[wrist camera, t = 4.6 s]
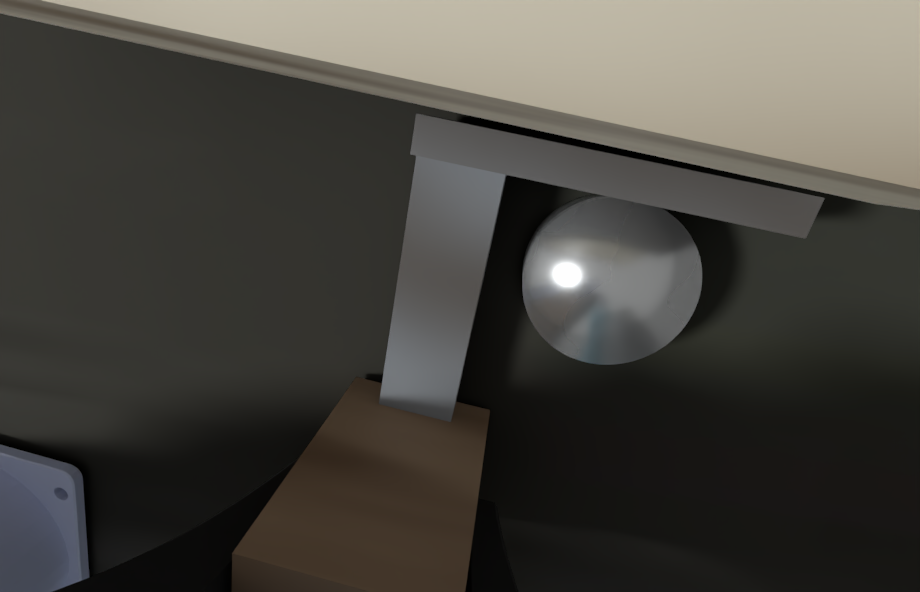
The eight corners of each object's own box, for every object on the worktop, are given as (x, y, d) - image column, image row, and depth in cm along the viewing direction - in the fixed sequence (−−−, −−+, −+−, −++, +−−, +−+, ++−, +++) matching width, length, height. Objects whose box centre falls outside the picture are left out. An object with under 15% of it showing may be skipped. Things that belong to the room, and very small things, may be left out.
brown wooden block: (620, 555, 14) (680, 831, 9) (342, 482, 15) (229, 695, 9) (781, 188, 10) (1092, 256, 5) (390, 107, 11) (240, 79, 5)
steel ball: (654, 354, 12) (671, 379, 11) (509, 325, 13) (507, 346, 11) (701, 207, 11) (727, 214, 10) (539, 179, 12) (542, 182, 10)
